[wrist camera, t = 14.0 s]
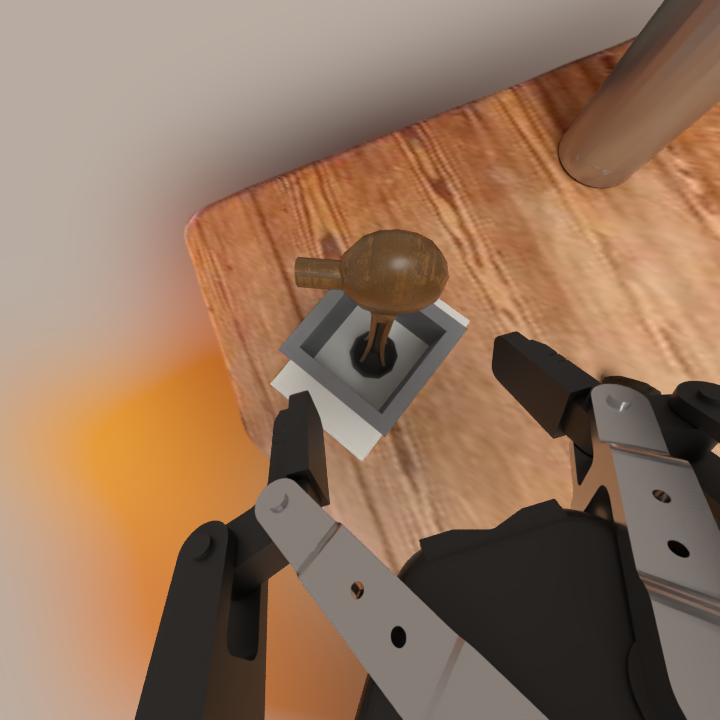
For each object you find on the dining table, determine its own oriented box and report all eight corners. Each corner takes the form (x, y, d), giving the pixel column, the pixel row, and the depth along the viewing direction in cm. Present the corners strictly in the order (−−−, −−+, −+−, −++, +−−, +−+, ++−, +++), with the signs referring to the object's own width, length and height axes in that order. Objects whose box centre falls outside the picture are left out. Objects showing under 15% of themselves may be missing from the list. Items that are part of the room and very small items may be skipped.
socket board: (378, 261, 31) (383, 217, 23) (464, 325, 30) (498, 299, 22) (274, 384, 29) (243, 379, 22) (362, 458, 28) (361, 479, 20)
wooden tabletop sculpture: (337, 375, 27) (272, 311, 8) (342, 331, 28) (292, 168, 8) (395, 380, 27) (481, 328, 8) (398, 335, 28) (484, 181, 8)
